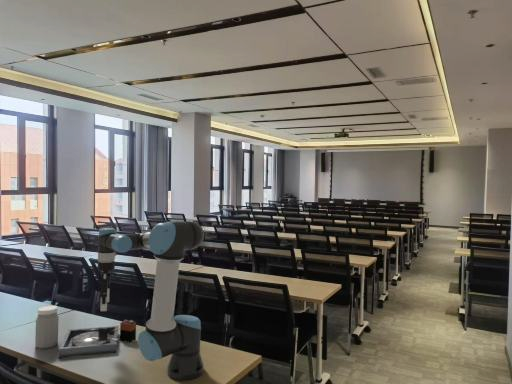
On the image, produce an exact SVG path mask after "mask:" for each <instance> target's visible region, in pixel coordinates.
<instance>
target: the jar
mask: <svg viewBox="0 0 512 384" xmlns="http://www.w3.org/2000/svg"><path fill="white" fill-rule="evenodd" d="M59 317H60V316H59V315H58V306H57V305H44V306H40V307H39V308H38V309H37V317H36V318H35V338H34V340H35V343H34V344H35V345H34V346H35V347H36V348H37V349H40V350H45V349H51V348H54V347H55V346H57V344H58V343H59V321H60V320H59Z"/></svg>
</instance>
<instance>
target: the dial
mask: <svg viewBox="0 0 512 384" xmlns="http://www.w3.org/2000/svg"><path fill="white" fill-rule="evenodd" d="M102 327H103V326H102ZM102 327H100V328H99V332H98V331H97V332H87V333H82V334H79V335H77V336H75V337H74V338H73V339H72V347H74V346H85V345H97V344H107V343H109V341H110V335H109V334H108V328H102Z"/></svg>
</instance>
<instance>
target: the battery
mask: <svg viewBox="0 0 512 384" xmlns="http://www.w3.org/2000/svg"><path fill="white" fill-rule="evenodd" d="M119 330H120V331H119V341H122V342H127V343H132V342H134V341H136V340H137V321H134V320H133V319H130V320H128V319H123V321H121V322H120V326H119Z"/></svg>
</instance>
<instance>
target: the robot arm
mask: <svg viewBox="0 0 512 384" xmlns="http://www.w3.org/2000/svg"><path fill="white" fill-rule="evenodd" d="M204 237H205V233H204V229H203V227H202V226H201V225H200V224H199V223H197V222H195V221H190V220H187V221H186V220H185V221H165V222H160V223H157V224H155V226H153V228H152V229H151V231H146V232H140V233H139V232H136V233H123V234H119V233H117V229H116V228H113V227H104V228H100V229H99V230H98V237H97V238H98V239H97V240H98V241H97V243H98V244H97V246H98V249H97V261H98V262H97V271H101V272H102V273H101V274H100V278H101V280H100V281H101V282H100V283H101V285H100V287H101V288H100V295H98V297H99V298H100V312H107V311H108V303H109V302H110V290H111V289H112V285H111V275H112V274H111V271H114V270H115V269H116V266H115V265H116V261H115V260H116V256H117V254H116V252H117V253H127V252H128V251H134V250H143V249H149V250H150V252H151V253H153V257H154V259H155V260H156V267H155V276H154V277H155V278H154V286H153V296H152V303H151V304H152V305H151V313H150V319H148V320H147V321H146V324H145V329H144V330H142V331H140V333H139V334H138V337H137V345H138V348H139V351H140V353H141V355H142V356H143V358H144V359H145V360H148V361H149V362H154V361H157V360H161V359H163V358H165V357H167V356H170V359H169V361H168V365H167V370H166V373H167V376H168V377H170V378H171V379H173V380H178V381H190V380H194V379H197V378H199V377H201V376H202V375H203V374H204V368H205V367H204V361H203V359H202V355H201V335H202V334H201V333H202V327H201V319H200V318H198V317H197V316H194V315H191V314H190V315H189V314H180V315H175V306H176V295H177V288H178V279H179V272H180V271H179V270H180V262H181V261H182V260H184V259H185V252H186V251H192V250H194V249H197V248H198V247H200V246H201V244H202V243H203V241H204Z"/></svg>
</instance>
